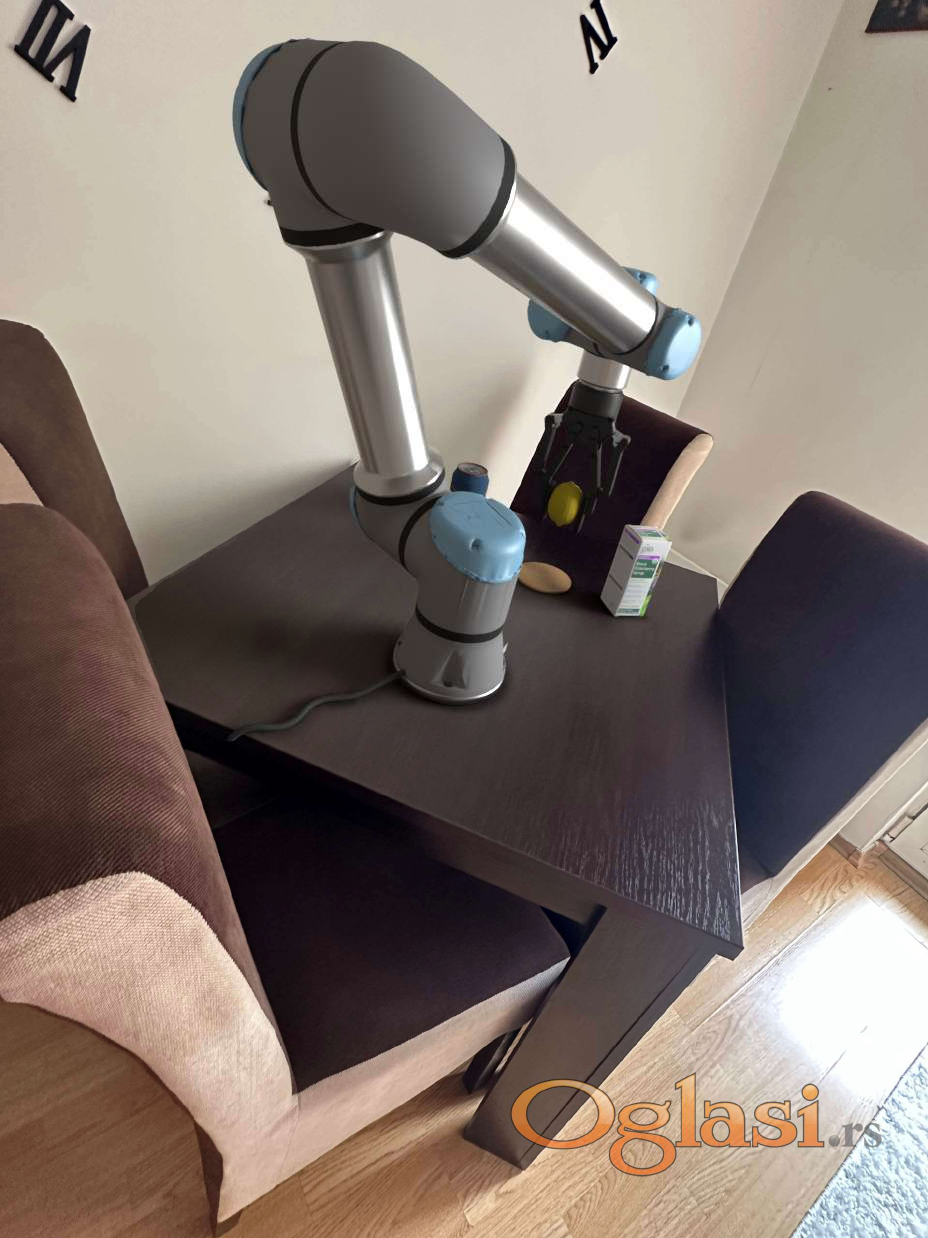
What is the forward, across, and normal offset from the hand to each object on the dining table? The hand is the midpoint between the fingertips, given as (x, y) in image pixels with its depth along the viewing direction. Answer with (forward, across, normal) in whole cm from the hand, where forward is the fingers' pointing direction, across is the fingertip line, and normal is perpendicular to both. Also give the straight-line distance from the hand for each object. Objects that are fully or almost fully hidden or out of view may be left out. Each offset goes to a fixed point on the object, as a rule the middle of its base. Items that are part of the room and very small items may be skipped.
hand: (559, 524), depth 109 cm
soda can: (+11, +20, -8) cm, 24 cm away
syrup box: (+11, -14, 0) cm, 18 cm away
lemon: (+1, 0, 0) cm, 1 cm away
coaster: (+11, 0, 0) cm, 11 cm away
